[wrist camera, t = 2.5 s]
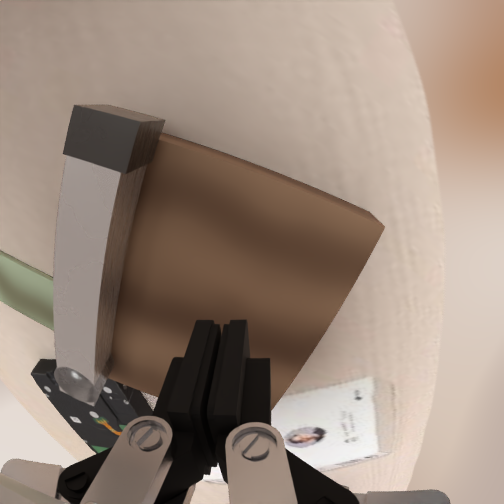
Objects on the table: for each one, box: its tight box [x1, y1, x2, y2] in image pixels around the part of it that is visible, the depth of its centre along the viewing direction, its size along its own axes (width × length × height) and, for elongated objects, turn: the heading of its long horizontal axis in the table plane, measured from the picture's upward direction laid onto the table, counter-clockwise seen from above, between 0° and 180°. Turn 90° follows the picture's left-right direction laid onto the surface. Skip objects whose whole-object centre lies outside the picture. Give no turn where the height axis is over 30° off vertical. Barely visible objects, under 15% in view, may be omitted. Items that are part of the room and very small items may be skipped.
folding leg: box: [53, 105, 165, 406], centre depth 14 cm, size 17×3×3 cm, turn 159°
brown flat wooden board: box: [0, 132, 385, 411], centre depth 17 cm, size 17×30×2 cm, turn 69°
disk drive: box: [31, 359, 153, 454], centre depth 25 cm, size 10×3×15 cm
